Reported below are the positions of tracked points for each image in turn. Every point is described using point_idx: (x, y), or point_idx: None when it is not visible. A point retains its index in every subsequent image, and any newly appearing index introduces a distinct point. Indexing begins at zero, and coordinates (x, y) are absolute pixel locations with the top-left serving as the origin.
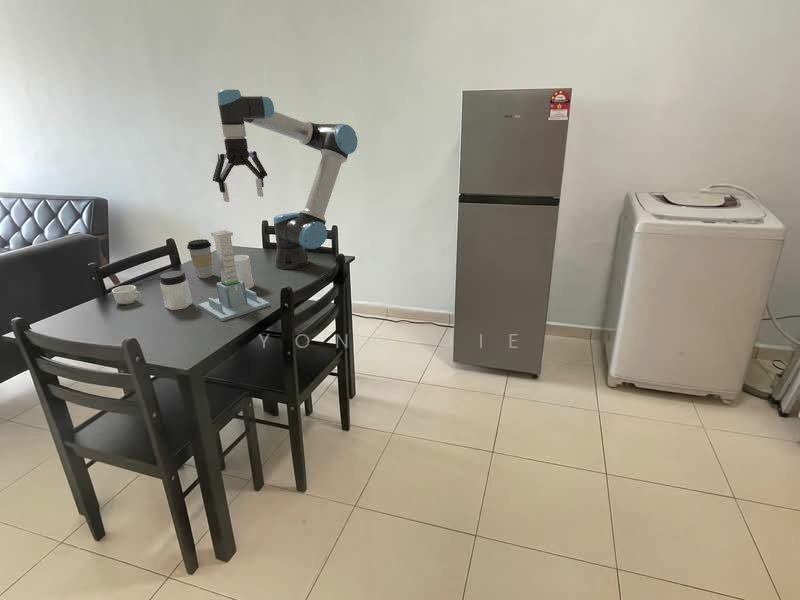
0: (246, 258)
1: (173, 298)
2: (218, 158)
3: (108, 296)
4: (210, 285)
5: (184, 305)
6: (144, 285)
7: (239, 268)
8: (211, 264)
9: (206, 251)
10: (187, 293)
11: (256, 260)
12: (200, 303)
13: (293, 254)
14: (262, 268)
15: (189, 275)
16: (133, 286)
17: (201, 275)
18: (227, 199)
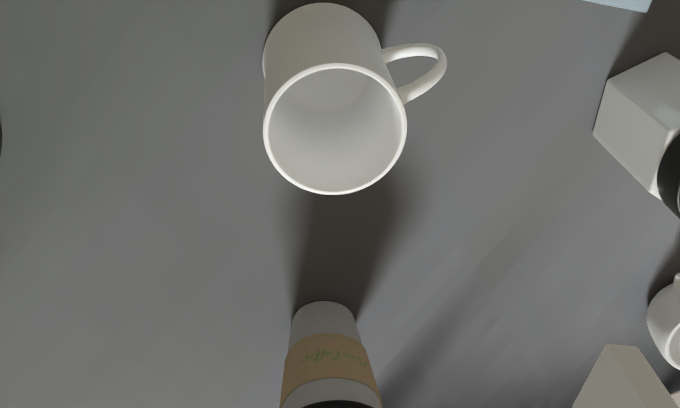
0: (319, 68)
1: None
2: None
3: None
4: (396, 207)
5: (675, 57)
6: (518, 399)
7: (376, 59)
8: (301, 340)
9: (328, 389)
10: (662, 89)
11: (17, 324)
12: (635, 9)
13: None
14: (70, 204)
15: None
16: (671, 338)
17: (353, 319)
18: (650, 376)
